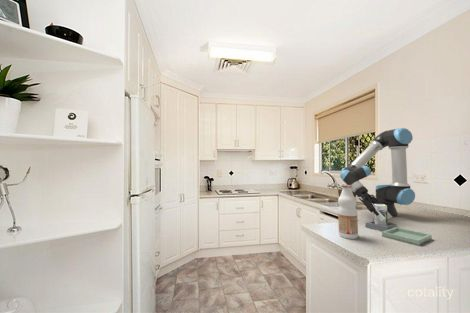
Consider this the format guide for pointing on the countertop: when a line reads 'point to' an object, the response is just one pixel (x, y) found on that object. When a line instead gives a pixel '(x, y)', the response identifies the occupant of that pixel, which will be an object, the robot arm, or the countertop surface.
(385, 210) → the syrup box
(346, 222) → the fruit juice
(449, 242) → the countertop surface
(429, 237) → the tray
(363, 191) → the robot arm
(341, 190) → the plant pot
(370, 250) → the countertop surface
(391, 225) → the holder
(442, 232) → the countertop surface
